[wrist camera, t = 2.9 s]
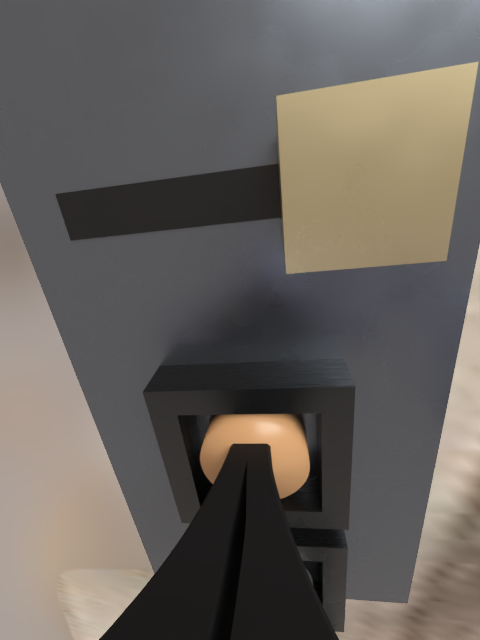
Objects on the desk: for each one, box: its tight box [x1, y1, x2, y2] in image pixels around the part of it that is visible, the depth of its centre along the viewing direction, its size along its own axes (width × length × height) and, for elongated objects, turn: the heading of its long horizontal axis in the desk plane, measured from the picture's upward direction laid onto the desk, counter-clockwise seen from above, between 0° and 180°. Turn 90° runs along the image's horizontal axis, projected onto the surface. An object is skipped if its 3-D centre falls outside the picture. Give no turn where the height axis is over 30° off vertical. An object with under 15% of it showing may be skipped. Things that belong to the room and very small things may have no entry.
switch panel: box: [0, 0, 480, 632], centre depth 12 cm, size 14×27×4 cm, turn 7°
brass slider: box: [276, 62, 478, 274], centre depth 7 cm, size 3×3×3 cm
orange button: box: [200, 414, 310, 499], centre depth 12 cm, size 4×4×2 cm
